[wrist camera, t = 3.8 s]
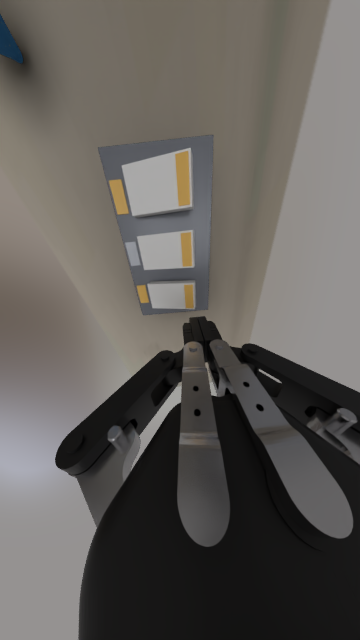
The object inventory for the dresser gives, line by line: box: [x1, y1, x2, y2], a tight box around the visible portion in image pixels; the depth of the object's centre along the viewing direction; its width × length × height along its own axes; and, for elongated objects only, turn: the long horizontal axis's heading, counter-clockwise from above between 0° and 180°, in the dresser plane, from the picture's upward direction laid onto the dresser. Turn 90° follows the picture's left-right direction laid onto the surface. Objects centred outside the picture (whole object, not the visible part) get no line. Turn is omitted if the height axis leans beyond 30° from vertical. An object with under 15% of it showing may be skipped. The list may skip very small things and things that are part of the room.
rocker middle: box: [137, 230, 195, 270], centre depth 17 cm, size 4×7×2 cm, turn 95°
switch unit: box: [98, 135, 213, 315], centre depth 19 cm, size 20×12×4 cm, turn 5°
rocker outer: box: [147, 280, 196, 309], centre depth 20 cm, size 4×7×2 cm, turn 95°
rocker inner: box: [122, 148, 194, 218], centre depth 14 cm, size 4×7×2 cm, turn 95°
